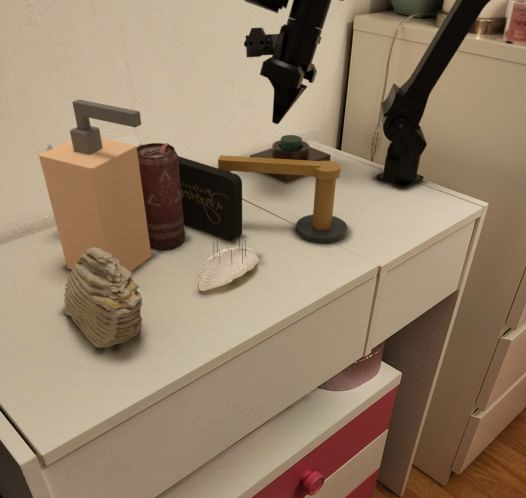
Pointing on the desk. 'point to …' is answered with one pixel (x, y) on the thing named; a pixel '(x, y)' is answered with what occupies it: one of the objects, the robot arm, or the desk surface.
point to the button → (291, 142)
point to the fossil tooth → (103, 299)
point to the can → (161, 194)
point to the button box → (292, 157)
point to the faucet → (322, 217)
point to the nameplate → (211, 199)
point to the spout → (281, 166)
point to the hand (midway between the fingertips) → (275, 123)
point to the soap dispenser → (98, 189)
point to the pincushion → (226, 266)
